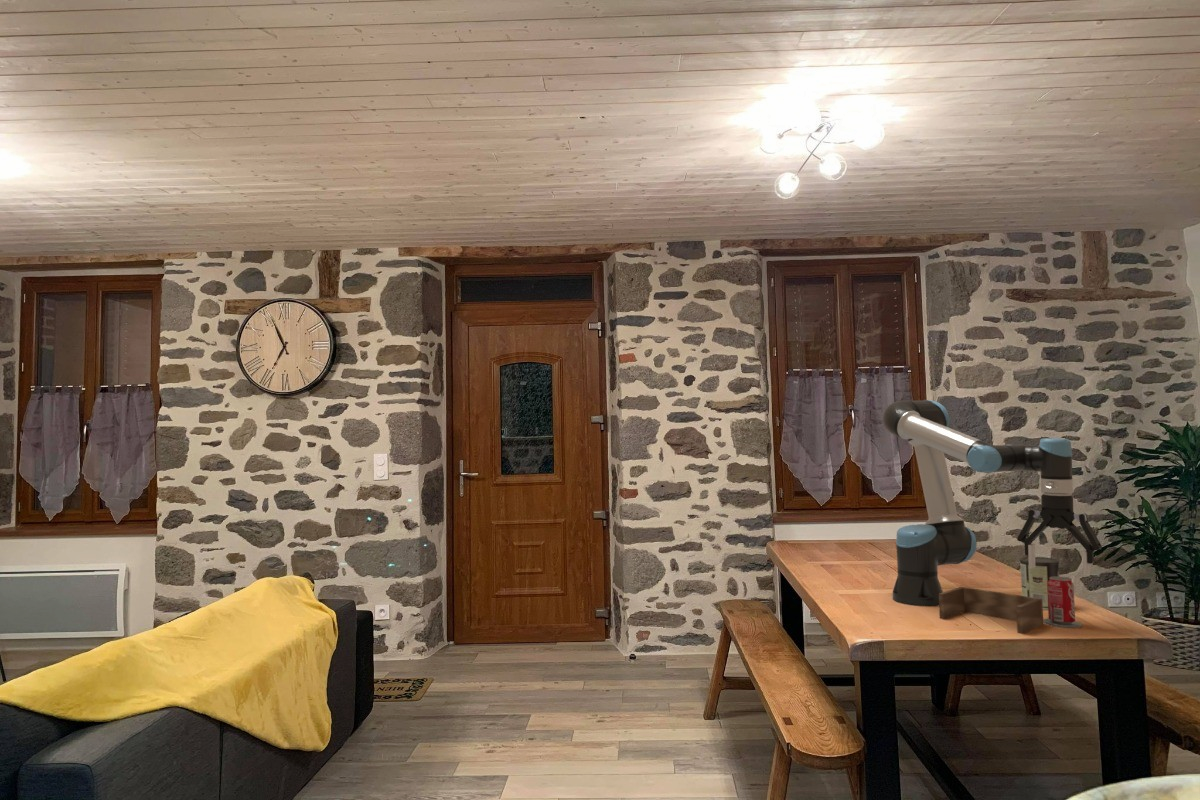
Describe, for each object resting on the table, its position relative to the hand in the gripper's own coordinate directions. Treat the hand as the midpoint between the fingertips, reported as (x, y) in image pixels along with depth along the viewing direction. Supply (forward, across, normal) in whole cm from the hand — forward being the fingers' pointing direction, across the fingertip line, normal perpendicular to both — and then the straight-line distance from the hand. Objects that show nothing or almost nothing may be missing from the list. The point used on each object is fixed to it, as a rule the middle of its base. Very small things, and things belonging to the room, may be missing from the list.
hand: (1058, 571), depth 204 cm
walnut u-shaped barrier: (+14, -13, -12) cm, 23 cm away
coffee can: (+15, -11, +18) cm, 26 cm away
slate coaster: (+14, +1, 0) cm, 14 cm away
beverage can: (+14, 0, 0) cm, 14 cm away
